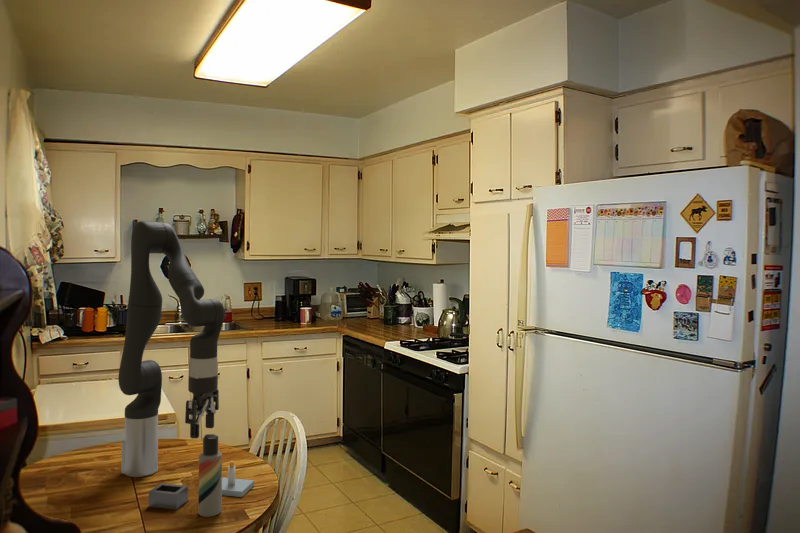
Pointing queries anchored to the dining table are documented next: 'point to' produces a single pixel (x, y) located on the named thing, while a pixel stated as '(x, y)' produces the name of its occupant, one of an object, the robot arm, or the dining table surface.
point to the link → (168, 496)
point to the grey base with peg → (235, 484)
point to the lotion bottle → (210, 477)
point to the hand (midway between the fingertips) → (202, 432)
